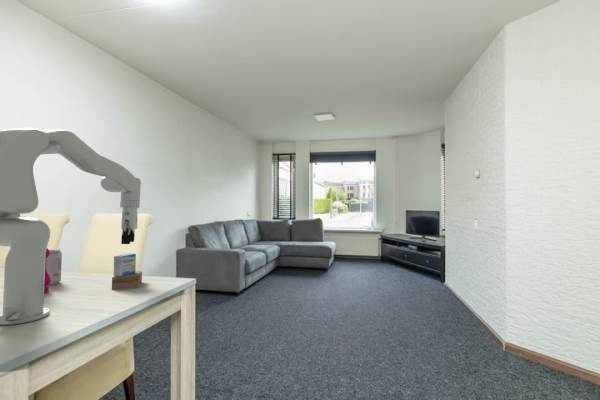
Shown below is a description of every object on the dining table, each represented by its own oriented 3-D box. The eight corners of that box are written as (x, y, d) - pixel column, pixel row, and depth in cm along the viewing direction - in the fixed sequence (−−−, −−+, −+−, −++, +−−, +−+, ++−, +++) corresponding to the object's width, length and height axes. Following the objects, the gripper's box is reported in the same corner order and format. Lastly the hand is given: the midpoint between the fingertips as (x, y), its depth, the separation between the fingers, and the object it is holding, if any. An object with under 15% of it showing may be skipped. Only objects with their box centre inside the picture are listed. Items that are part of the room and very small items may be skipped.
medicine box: (121, 276, 129) (122, 256, 129) (113, 275, 130) (113, 255, 130) (135, 272, 136) (136, 253, 137) (127, 272, 138) (128, 253, 138)
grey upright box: (57, 284, 132) (59, 250, 133) (40, 285, 130) (42, 251, 131) (62, 281, 138) (64, 249, 138) (46, 282, 136) (48, 249, 136)
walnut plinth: (138, 287, 131) (138, 276, 131) (111, 289, 127) (112, 277, 127) (141, 282, 140) (142, 271, 140) (117, 283, 137) (117, 272, 137)
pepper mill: (49, 289, 125) (51, 241, 126) (51, 293, 120) (53, 243, 121) (26, 292, 120) (28, 242, 121) (26, 296, 115) (29, 244, 116)
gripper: (135, 204, 127) (133, 245, 127) (142, 205, 144) (140, 241, 143) (115, 203, 125) (113, 245, 124) (124, 204, 141) (122, 241, 140)
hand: (127, 242), depth 133 cm, fingers open, 9 cm apart
